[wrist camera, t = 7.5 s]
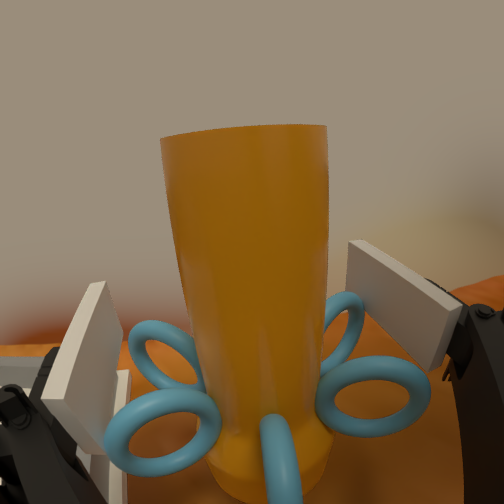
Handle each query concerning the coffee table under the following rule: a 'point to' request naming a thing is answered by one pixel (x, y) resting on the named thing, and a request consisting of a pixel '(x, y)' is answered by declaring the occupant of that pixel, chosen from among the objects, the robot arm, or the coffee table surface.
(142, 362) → the orange tube
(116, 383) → the holder tray
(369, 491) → the coffee table surface
